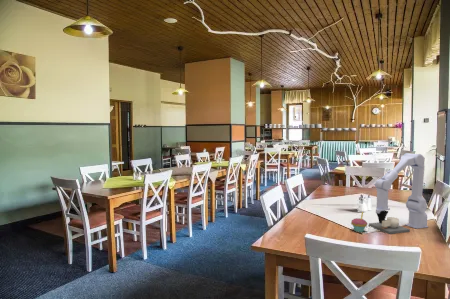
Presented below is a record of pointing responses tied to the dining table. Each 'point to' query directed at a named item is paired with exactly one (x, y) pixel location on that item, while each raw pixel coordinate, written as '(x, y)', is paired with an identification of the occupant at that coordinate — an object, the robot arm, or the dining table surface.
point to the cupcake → (359, 224)
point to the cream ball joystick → (390, 222)
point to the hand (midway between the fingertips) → (381, 223)
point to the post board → (389, 228)
